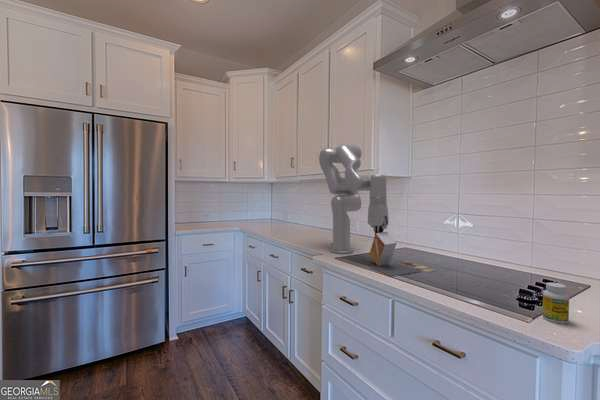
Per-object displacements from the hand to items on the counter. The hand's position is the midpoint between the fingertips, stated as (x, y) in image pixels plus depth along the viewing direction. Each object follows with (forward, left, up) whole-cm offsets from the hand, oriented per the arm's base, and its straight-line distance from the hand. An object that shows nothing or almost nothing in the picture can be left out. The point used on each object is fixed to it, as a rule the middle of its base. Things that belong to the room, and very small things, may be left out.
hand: (378, 240), depth 136 cm
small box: (0, 0, -9) cm, 9 cm away
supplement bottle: (+66, +7, -11) cm, 67 cm away
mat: (+11, 0, -11) cm, 16 cm away
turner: (+12, +12, -11) cm, 20 cm away
